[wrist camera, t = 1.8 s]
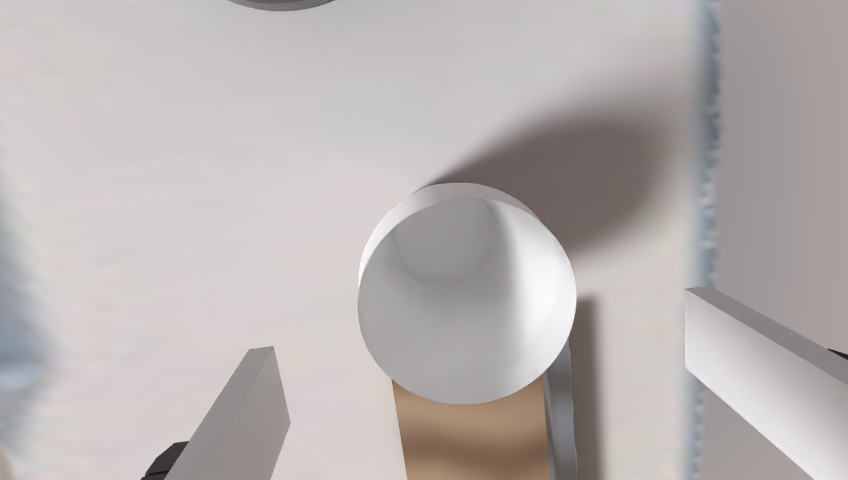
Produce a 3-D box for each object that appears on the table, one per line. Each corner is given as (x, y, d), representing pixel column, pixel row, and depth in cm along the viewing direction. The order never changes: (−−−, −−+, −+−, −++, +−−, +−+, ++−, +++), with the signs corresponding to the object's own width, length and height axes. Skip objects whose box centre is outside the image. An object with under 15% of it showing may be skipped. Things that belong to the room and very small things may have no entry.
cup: (480, 139, 30) (533, 153, 18) (533, 269, 32) (611, 356, 20) (345, 201, 30) (311, 253, 19) (407, 324, 32) (411, 440, 21)
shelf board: (385, 333, 32) (383, 359, 29) (553, 310, 33) (571, 333, 29) (421, 564, 37) (424, 611, 34) (568, 543, 37) (586, 587, 34)
